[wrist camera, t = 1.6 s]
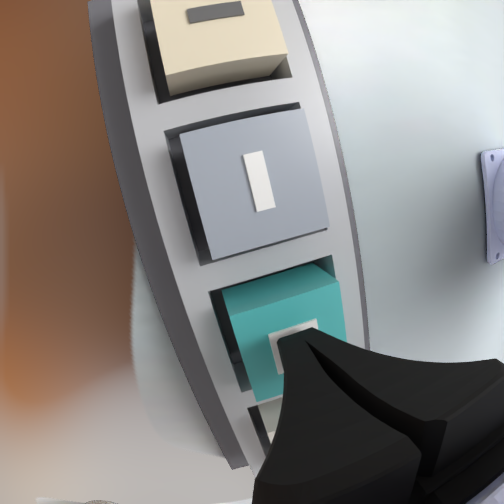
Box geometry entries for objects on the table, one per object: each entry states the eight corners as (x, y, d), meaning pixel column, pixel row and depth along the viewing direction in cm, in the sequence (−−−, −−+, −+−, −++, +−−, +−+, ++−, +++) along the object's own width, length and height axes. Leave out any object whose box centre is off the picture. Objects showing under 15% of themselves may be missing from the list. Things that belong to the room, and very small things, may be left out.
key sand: (246, -2, 10) (259, -35, 8) (269, 75, 11) (289, 52, 9) (153, 15, 10) (146, -18, 7) (170, 96, 11) (165, 74, 8)
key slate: (281, 121, 12) (305, 107, 9) (303, 217, 13) (331, 227, 10) (181, 144, 11) (179, 133, 9) (208, 243, 12) (212, 260, 10)
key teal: (312, 262, 13) (340, 282, 11) (325, 340, 14) (351, 370, 12) (221, 289, 13) (229, 317, 10) (245, 367, 14) (257, 403, 11)
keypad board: (281, -29, 12) (298, -59, 9) (368, 414, 19) (388, 441, 16) (90, 7, 10) (74, -22, 8) (230, 463, 18) (237, 496, 15)
